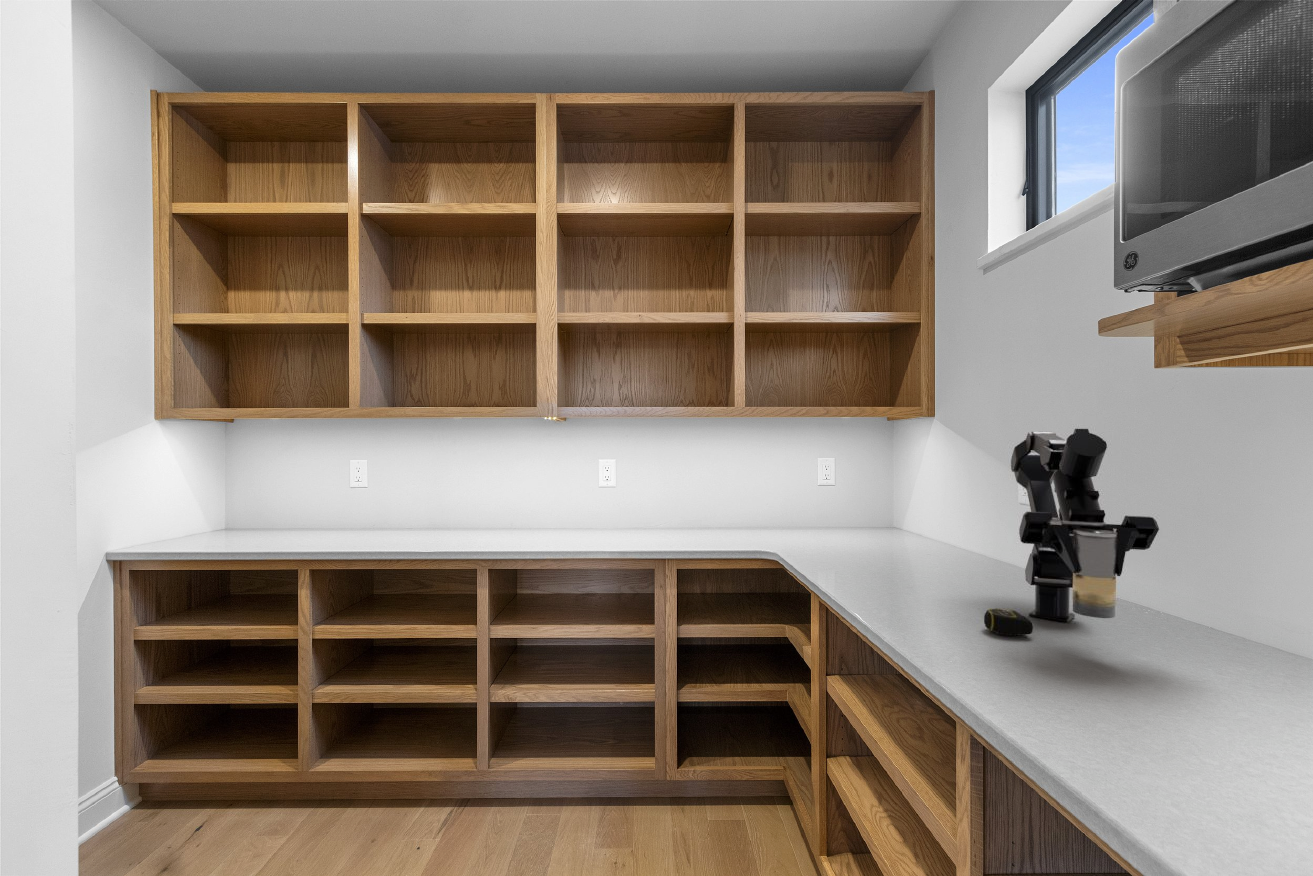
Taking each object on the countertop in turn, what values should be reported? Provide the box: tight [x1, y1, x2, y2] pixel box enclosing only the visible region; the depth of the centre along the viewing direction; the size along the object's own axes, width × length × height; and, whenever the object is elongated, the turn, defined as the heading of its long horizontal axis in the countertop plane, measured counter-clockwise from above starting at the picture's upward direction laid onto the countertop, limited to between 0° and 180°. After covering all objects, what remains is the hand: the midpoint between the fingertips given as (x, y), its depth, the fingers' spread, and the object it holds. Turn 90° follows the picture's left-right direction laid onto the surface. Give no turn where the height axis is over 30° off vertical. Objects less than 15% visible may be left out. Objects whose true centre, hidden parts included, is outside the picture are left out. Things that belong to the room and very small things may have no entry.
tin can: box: [1072, 529, 1117, 619], centre depth 105 cm, size 6×6×13 cm
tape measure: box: [983, 608, 1034, 636], centre depth 117 cm, size 7×7×4 cm
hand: (1097, 573), depth 103 cm, fingers closed on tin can, 6 cm apart
